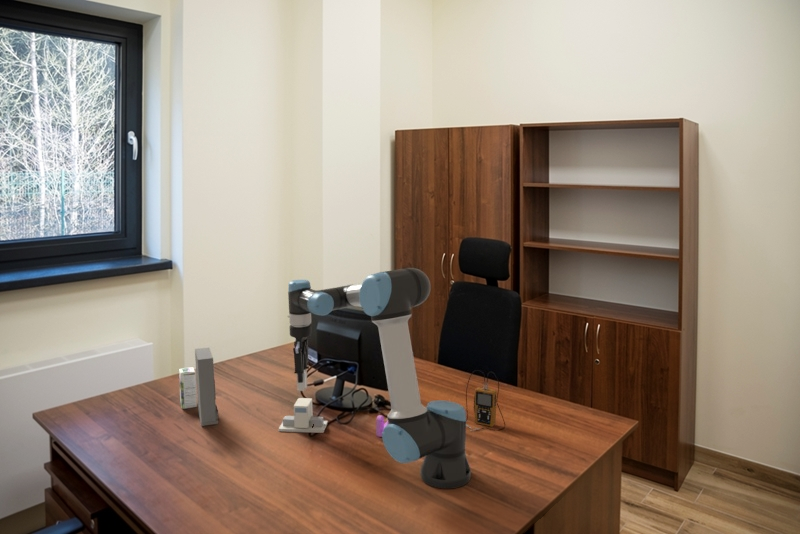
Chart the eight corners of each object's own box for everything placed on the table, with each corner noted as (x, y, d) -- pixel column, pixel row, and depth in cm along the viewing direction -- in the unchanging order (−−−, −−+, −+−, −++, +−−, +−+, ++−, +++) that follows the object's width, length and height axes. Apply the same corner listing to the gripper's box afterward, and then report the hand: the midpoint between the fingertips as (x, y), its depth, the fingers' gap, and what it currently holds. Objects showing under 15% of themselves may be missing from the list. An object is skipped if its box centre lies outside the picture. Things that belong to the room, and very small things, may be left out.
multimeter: (456, 429, 231) (457, 375, 228) (467, 419, 240) (468, 367, 236) (496, 437, 225) (497, 382, 221) (505, 426, 233) (507, 373, 230)
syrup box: (180, 404, 254) (177, 368, 252) (195, 401, 257) (193, 366, 254) (181, 409, 249) (179, 373, 246) (197, 406, 252) (195, 370, 249)
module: (312, 419, 236) (312, 398, 235) (308, 428, 229) (307, 406, 227) (299, 418, 236) (298, 398, 235) (294, 427, 229) (293, 406, 228)
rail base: (327, 423, 236) (327, 414, 236) (323, 432, 228) (323, 423, 228) (284, 422, 237) (283, 413, 237) (278, 431, 230) (278, 422, 229)
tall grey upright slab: (219, 424, 236) (215, 357, 231) (201, 426, 233) (197, 360, 229) (214, 410, 248) (211, 347, 244) (198, 412, 246) (194, 348, 242)
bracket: (391, 438, 224) (391, 419, 223) (376, 436, 226) (376, 417, 225) (403, 424, 236) (403, 405, 235) (389, 421, 238) (389, 403, 237)
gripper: (295, 318, 234) (296, 380, 238) (284, 330, 219) (286, 396, 223) (315, 318, 233) (317, 381, 238) (306, 330, 218) (308, 397, 222)
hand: (302, 388), depth 230 cm, fingers open, 3 cm apart
